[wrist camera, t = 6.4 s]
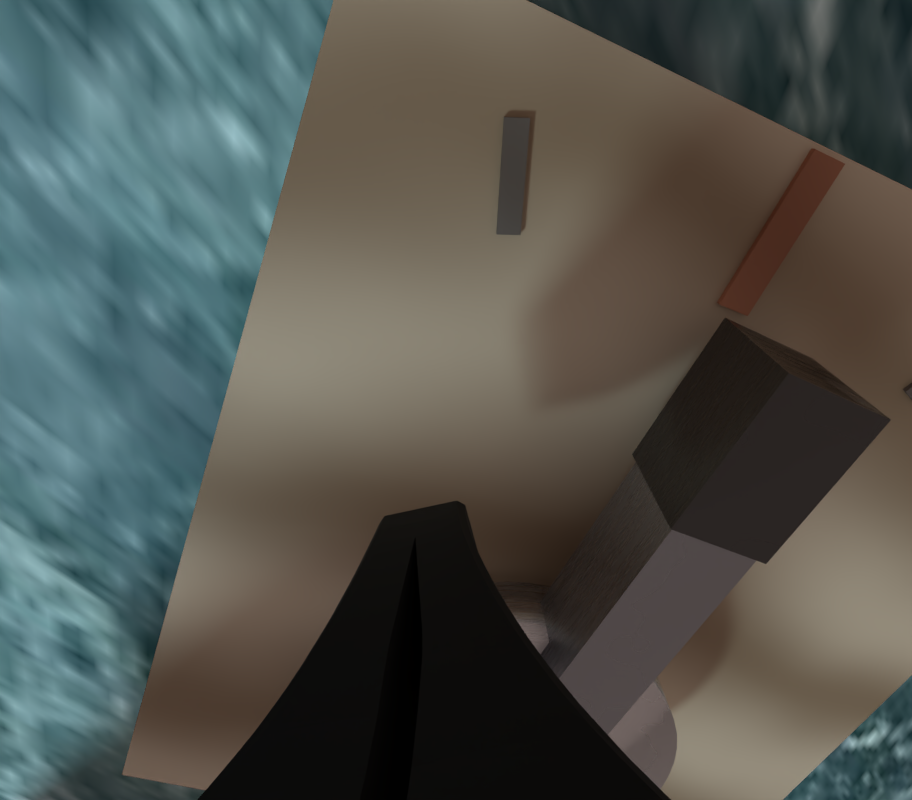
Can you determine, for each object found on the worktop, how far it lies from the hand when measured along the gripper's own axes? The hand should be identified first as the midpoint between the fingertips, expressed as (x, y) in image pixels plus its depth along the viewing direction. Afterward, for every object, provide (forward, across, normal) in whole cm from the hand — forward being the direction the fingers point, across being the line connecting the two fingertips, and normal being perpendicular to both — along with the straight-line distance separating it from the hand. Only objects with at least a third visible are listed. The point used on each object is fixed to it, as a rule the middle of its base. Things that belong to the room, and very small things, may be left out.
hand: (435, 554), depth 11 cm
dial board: (+4, -3, +4) cm, 6 cm away
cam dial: (+2, -2, +4) cm, 5 cm away
